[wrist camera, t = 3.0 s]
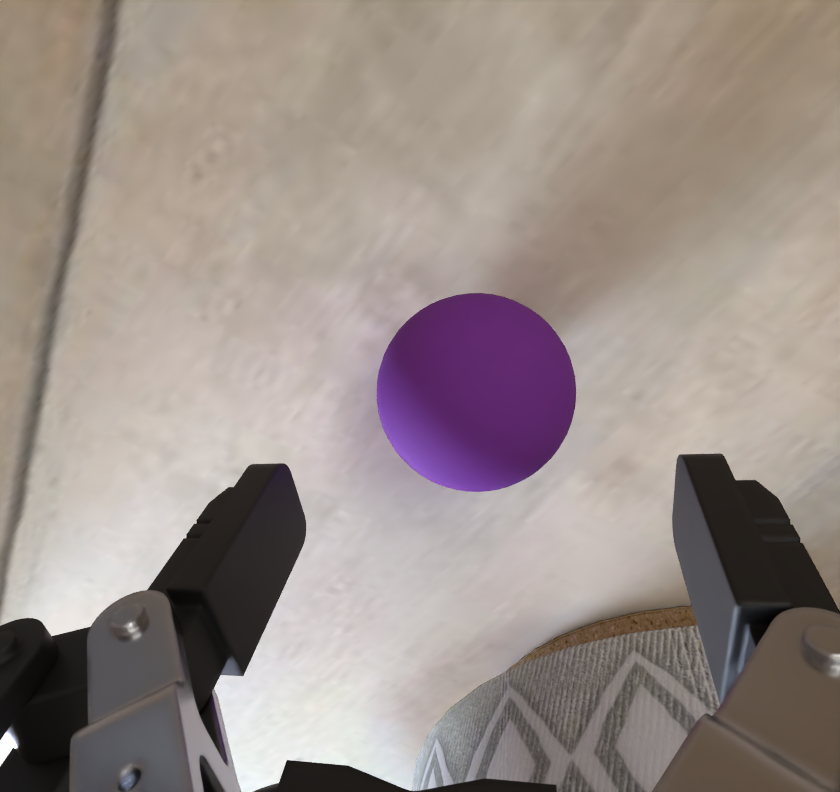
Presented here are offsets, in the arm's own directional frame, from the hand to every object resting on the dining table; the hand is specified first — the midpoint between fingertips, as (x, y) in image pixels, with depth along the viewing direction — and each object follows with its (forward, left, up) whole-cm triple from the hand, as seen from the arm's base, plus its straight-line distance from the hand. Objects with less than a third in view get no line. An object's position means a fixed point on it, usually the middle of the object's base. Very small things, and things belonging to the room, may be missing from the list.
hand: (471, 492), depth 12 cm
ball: (0, 0, -4) cm, 4 cm away
